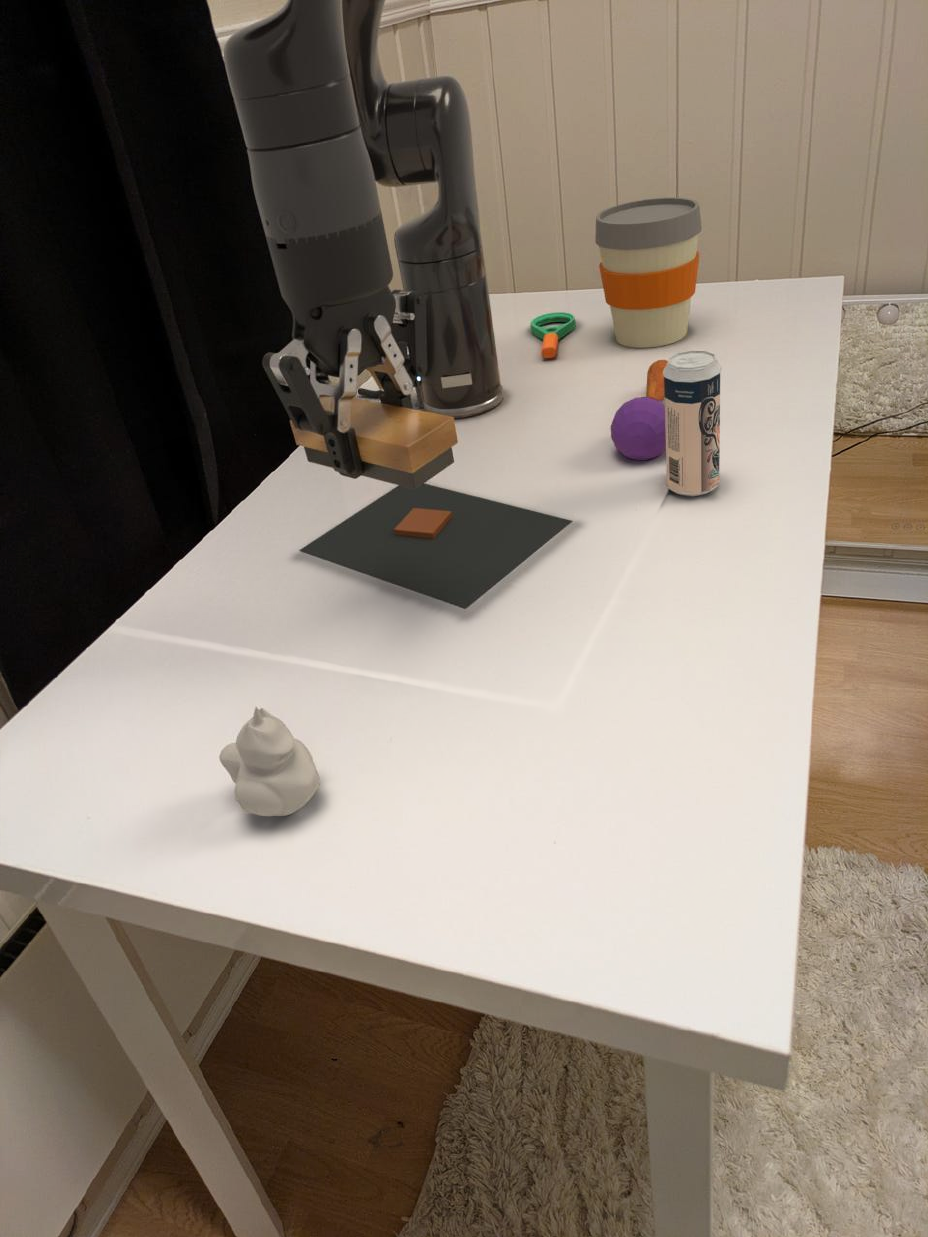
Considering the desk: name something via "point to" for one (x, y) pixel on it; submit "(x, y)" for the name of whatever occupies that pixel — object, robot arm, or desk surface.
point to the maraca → (643, 420)
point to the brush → (392, 442)
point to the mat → (438, 543)
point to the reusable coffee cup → (649, 268)
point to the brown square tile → (423, 523)
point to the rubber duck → (270, 767)
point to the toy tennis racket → (552, 330)
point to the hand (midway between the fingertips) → (377, 457)
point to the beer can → (692, 422)
